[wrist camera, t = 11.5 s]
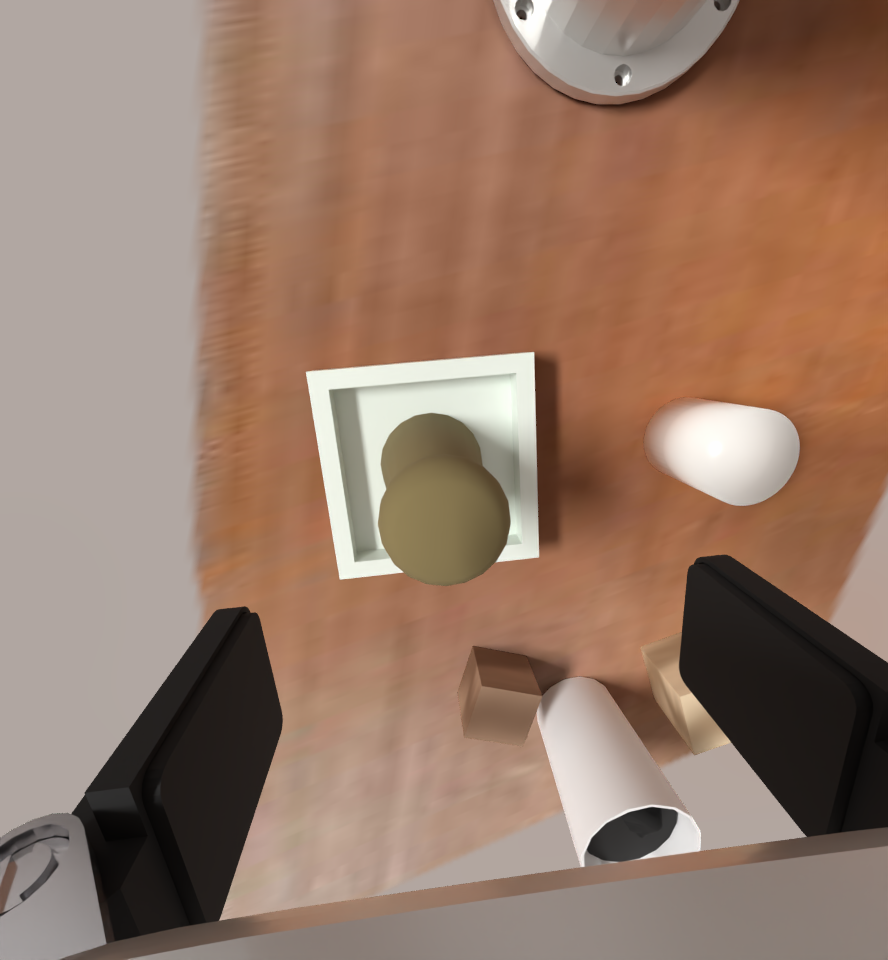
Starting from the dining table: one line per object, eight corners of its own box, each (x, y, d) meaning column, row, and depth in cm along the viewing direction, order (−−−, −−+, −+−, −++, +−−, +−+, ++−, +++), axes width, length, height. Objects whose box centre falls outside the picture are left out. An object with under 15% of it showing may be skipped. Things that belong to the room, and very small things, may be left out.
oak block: (639, 646, 33) (679, 697, 28) (705, 622, 32) (757, 669, 28) (653, 698, 34) (694, 755, 29) (716, 676, 34) (767, 729, 29)
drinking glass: (557, 659, 32) (621, 790, 23) (634, 688, 33) (725, 823, 24) (514, 730, 34) (558, 880, 24) (589, 754, 35) (659, 907, 25)
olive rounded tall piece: (496, 430, 26) (556, 482, 16) (463, 522, 28) (498, 627, 17) (397, 399, 25) (390, 432, 15) (368, 496, 27) (343, 589, 16)
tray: (314, 370, 25) (306, 371, 23) (523, 352, 26) (534, 352, 24) (345, 562, 29) (339, 579, 27) (529, 541, 29) (539, 557, 27)
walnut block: (472, 645, 31) (481, 685, 28) (525, 654, 32) (542, 696, 28) (457, 691, 32) (464, 737, 29) (509, 700, 33) (523, 746, 29)
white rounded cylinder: (645, 400, 28) (708, 413, 22) (723, 393, 28) (806, 404, 22) (642, 479, 29) (700, 510, 23) (716, 471, 29) (792, 500, 23)
